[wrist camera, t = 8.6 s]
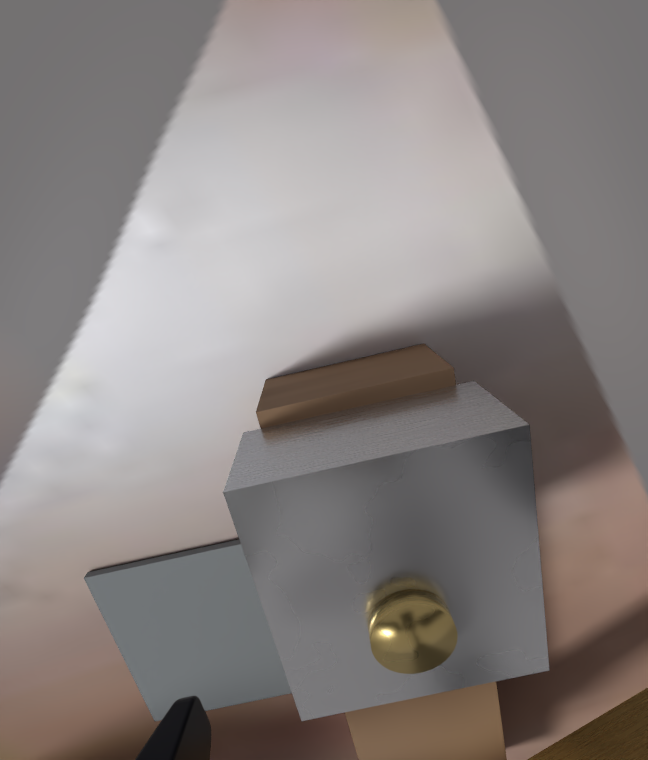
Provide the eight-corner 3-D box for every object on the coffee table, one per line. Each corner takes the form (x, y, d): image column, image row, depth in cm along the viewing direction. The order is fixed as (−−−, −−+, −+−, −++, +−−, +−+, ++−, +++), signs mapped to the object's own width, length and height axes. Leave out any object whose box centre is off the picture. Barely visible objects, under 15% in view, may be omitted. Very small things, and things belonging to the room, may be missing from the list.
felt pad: (309, 682, 19) (309, 689, 18) (157, 714, 19) (154, 721, 19) (262, 534, 16) (261, 539, 16) (87, 572, 16) (83, 578, 16)
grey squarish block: (498, 581, 14) (560, 690, 10) (302, 622, 14) (301, 742, 10) (474, 380, 12) (542, 434, 8) (243, 432, 12) (218, 506, 8)
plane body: (487, 755, 21) (517, 837, 18) (377, 777, 21) (388, 861, 18) (424, 343, 14) (453, 367, 11) (265, 379, 14) (255, 412, 12)
